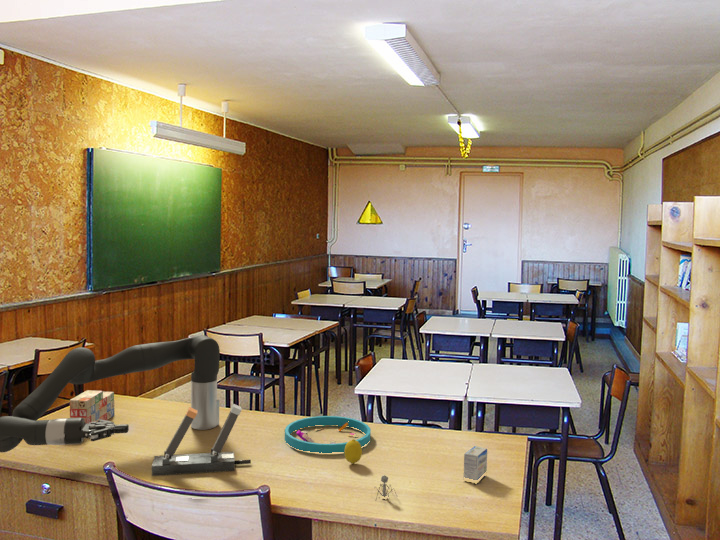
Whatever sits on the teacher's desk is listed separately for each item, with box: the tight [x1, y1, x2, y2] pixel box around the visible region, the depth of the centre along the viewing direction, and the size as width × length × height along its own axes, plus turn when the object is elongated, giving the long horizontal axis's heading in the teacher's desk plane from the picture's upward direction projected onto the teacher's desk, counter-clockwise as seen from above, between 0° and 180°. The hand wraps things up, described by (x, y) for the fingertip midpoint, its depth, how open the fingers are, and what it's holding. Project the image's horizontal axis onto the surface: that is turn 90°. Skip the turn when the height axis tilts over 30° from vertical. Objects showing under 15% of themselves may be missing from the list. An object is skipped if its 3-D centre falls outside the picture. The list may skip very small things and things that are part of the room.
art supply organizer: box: [284, 415, 372, 453], centre depth 220 cm, size 30×30×6 cm
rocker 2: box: [212, 403, 243, 455], centre depth 193 cm, size 3×4×17 cm, turn 13°
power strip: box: [151, 447, 252, 477], centre depth 192 cm, size 29×8×5 cm, turn 102°
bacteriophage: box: [375, 475, 398, 500], centre depth 174 cm, size 7×8×7 cm
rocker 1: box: [165, 406, 197, 458], centre depth 190 cm, size 3×4×17 cm, turn 13°
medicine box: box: [463, 445, 488, 480], centre depth 189 cm, size 8×4×9 cm, turn 148°
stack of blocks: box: [69, 389, 115, 424], centre depth 230 cm, size 21×6×12 cm, turn 176°
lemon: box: [343, 438, 363, 464], centre depth 198 cm, size 6×6×8 cm
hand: (128, 428), depth 187 cm, fingers closed
